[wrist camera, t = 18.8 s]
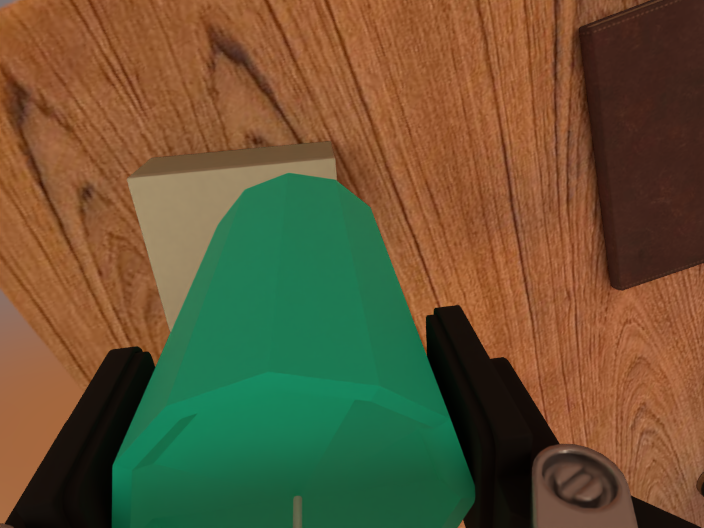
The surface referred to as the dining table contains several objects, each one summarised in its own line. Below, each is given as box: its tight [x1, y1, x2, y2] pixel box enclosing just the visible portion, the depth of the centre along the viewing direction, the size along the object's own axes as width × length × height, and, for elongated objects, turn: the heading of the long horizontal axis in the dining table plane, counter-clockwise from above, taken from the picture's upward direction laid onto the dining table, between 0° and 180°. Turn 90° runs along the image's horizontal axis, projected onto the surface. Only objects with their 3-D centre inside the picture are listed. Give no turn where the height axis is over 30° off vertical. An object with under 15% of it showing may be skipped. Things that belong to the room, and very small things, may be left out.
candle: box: [112, 173, 475, 528], centre depth 12 cm, size 6×6×12 cm
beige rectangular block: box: [127, 141, 337, 333], centre depth 34 cm, size 12×18×5 cm, turn 4°
